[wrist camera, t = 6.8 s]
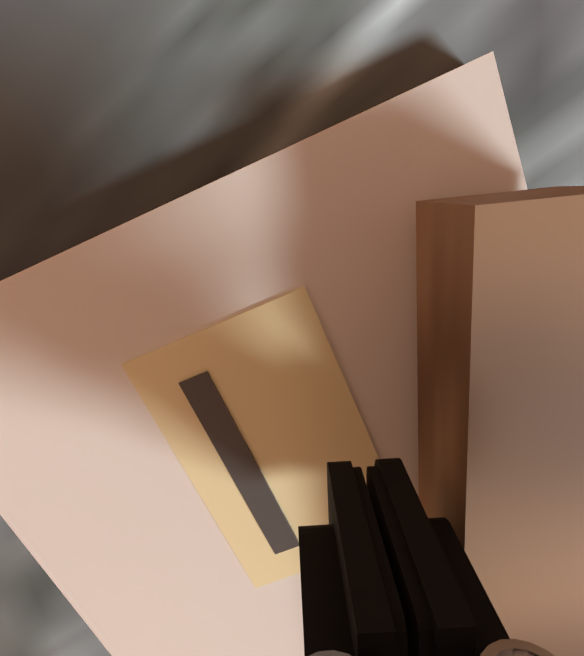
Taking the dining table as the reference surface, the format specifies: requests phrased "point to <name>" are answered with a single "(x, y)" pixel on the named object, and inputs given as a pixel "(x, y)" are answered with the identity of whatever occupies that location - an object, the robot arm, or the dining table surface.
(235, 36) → the dining table surface
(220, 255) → the label plate
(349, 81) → the dining table surface
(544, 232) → the bar
